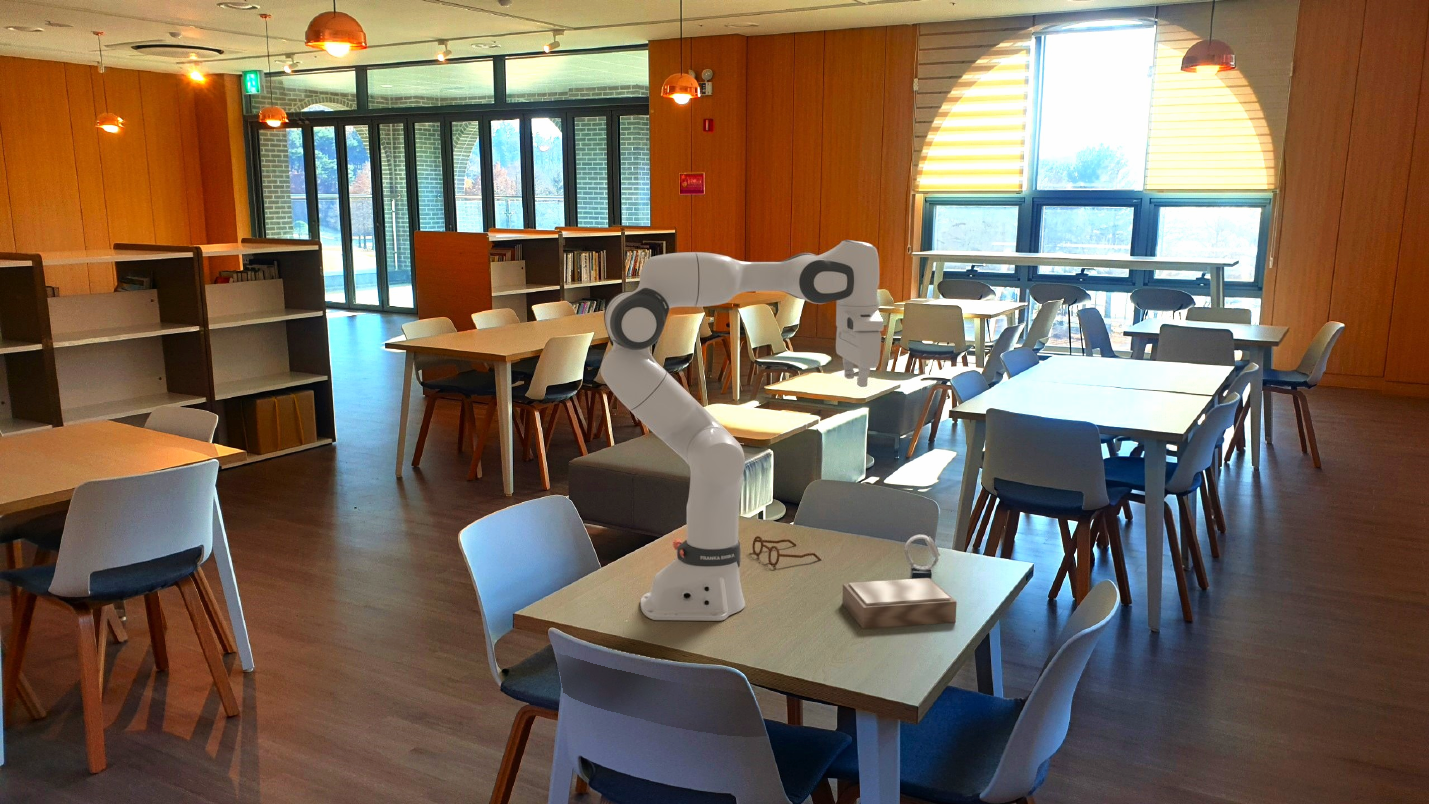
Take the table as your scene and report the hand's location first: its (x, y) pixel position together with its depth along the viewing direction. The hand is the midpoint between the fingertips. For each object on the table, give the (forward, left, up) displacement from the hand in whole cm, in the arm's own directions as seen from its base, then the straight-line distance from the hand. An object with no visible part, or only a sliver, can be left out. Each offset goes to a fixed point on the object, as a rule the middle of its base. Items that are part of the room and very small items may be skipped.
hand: (855, 382), depth 217 cm
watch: (+19, +5, -48) cm, 52 cm away
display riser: (+7, -12, -48) cm, 50 cm away
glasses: (-7, +28, -49) cm, 56 cm away
